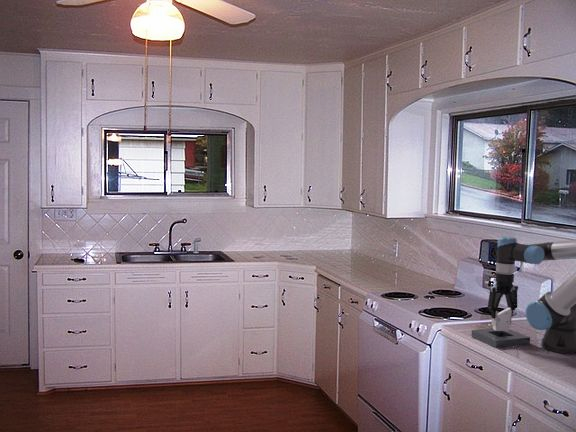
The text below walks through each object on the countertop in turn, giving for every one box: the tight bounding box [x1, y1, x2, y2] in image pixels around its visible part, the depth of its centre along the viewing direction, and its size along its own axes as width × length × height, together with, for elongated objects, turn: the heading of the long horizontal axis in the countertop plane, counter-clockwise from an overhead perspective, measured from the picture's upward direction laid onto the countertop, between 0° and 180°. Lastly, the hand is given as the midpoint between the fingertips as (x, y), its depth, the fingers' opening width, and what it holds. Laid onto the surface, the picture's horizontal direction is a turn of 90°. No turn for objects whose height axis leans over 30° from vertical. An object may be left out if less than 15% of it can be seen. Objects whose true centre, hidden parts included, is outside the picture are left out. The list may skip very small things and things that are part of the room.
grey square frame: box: [471, 327, 531, 349], centre depth 267 cm, size 16×18×3 cm
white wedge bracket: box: [492, 307, 511, 331], centre depth 266 cm, size 4×10×9 cm, turn 92°
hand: (501, 324), depth 266 cm, fingers open, 7 cm apart
